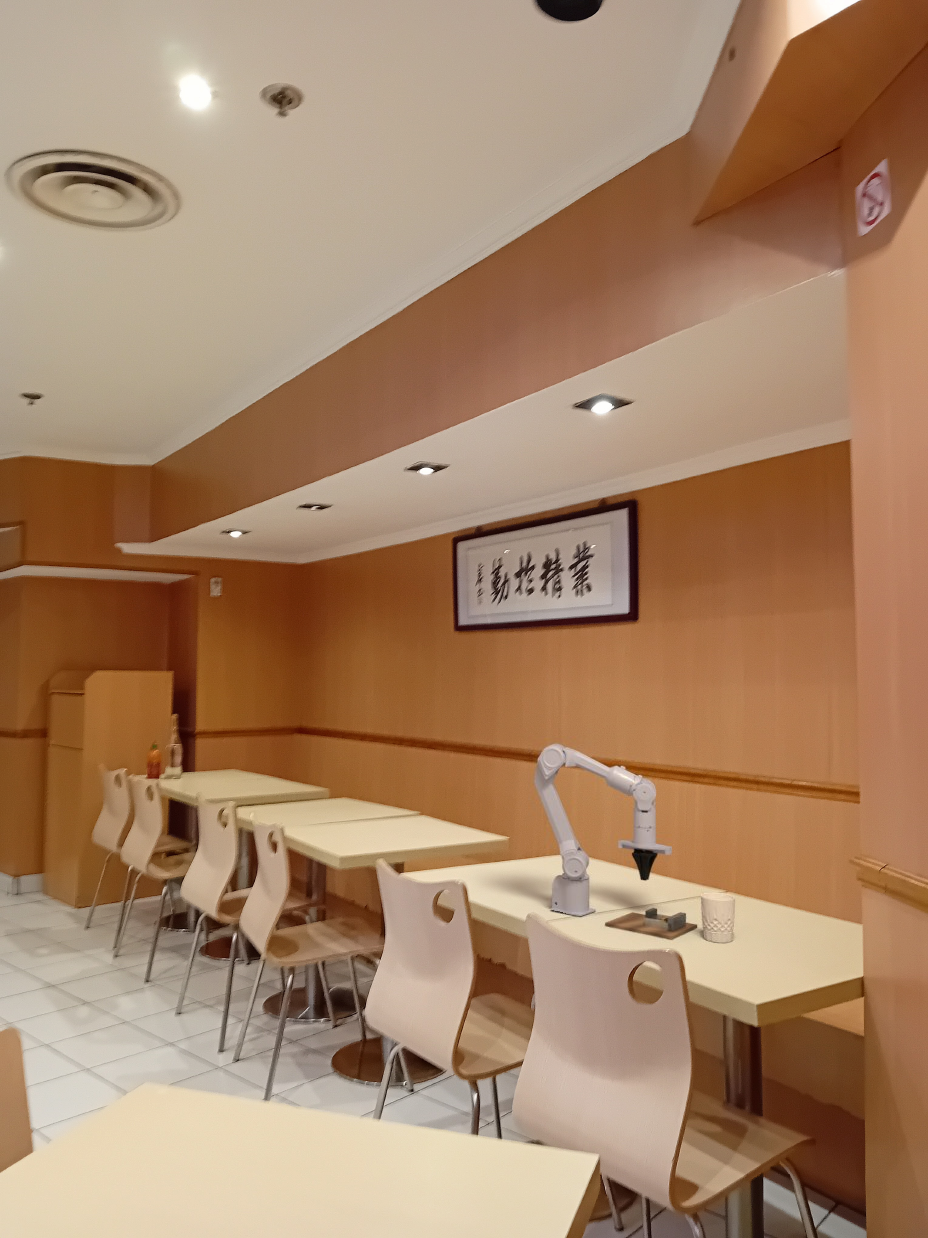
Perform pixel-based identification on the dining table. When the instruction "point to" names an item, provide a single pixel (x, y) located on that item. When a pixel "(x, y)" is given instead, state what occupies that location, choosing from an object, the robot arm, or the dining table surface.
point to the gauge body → (667, 922)
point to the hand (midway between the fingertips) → (644, 879)
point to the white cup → (718, 917)
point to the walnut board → (637, 924)
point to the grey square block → (655, 915)
